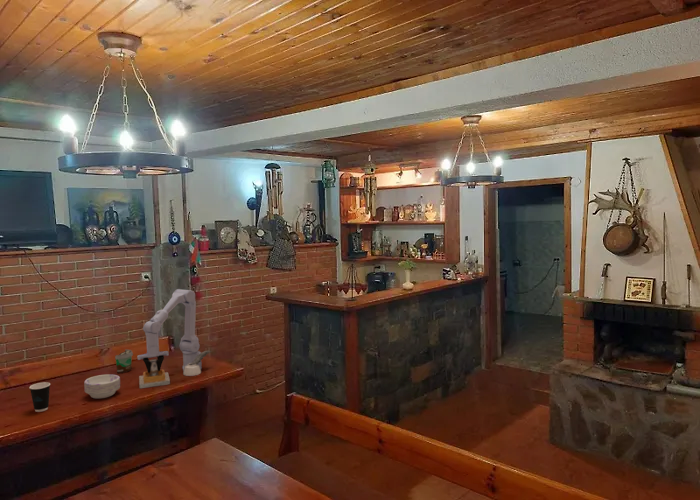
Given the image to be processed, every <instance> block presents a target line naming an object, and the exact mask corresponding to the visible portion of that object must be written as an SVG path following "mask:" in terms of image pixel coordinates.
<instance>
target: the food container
mask: <svg viewBox="0 0 700 500" xmlns="http://www.w3.org/2000/svg"><path fill="white" fill-rule="evenodd" d="M124 350H125V351H123V352H121V353H119V354H116V355H115V358H114V359H115V365H116V372H117V374H121V373H122V374H123V373H127V372H130V371H131V370H132V358H133V357H132V356H134V353H133V350H132V349H126V348H125V349H124Z"/></svg>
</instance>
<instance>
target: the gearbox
mask: <svg viewBox="0 0 700 500" xmlns="http://www.w3.org/2000/svg"><path fill="white" fill-rule="evenodd" d="M138 379H139V381H138V383H139V385H138V386H139V389H146V388H152V387H153V388H154V387H161V386H167V385H171V379H170V376H169V372H167V371H166V372H165V369H160V371H159V375H156V376H149V373H148V371H143V373H142V375H139V376H138Z"/></svg>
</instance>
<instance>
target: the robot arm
mask: <svg viewBox="0 0 700 500" xmlns="http://www.w3.org/2000/svg"><path fill="white" fill-rule="evenodd" d="M178 304H183V306H184V307H185V309H184V332H183V333H184V334H183V336H182V337H180V342H179V349H180V351H181V353H182V362H183V363H182V364H183V365H182V366H181V367H182V371H183V372H184V368H185V366H186V365H188V364H189V363H192V362H193V361H194V359H195V358H196V357H197V356H198V355H199V354H200V353H202V352H201V351H199V350H200V347H201V346H200V340H199V337H198V336H197V335H196V312H197V311H196V310H197V302H196V293H195V291H193V290H191V289H181V288H177V289H175V290H174V291H173V293H172V296H171V297H170V299H169V300H168V302H167V303H166V304H165V306H164V307H163V308H162V309H159V310H157V311H156V313H155V314H154V316H152V317H151V318H150V319H149V321H146V322H145V323H144V325H143V327H142V330H143V332H144V333H145V334H144V335H145V339H146V353H144V354H143V353H142V354H139V355H137V360H138V361H140V360H142V361H143V362H144V365H145V367H146V370H147V371H148V373H150V369H149V360H150V358H157V360H158V371H160V370H161V367H162V364H163V362H164V360H165V356H166V357H168V356H170V355H169V351H168V350H165V351H160V345H159V343H160V342H159V339H160V338H159V332H160V331H161V329H162V324H164V322H165V321H166V320H168V318H169V313H170V312H171V311H172V310H174V308H176V306H177V305H178ZM198 365H199V367H200V370H202V369H203V368H202V361H201V362H199V363H198Z"/></svg>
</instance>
